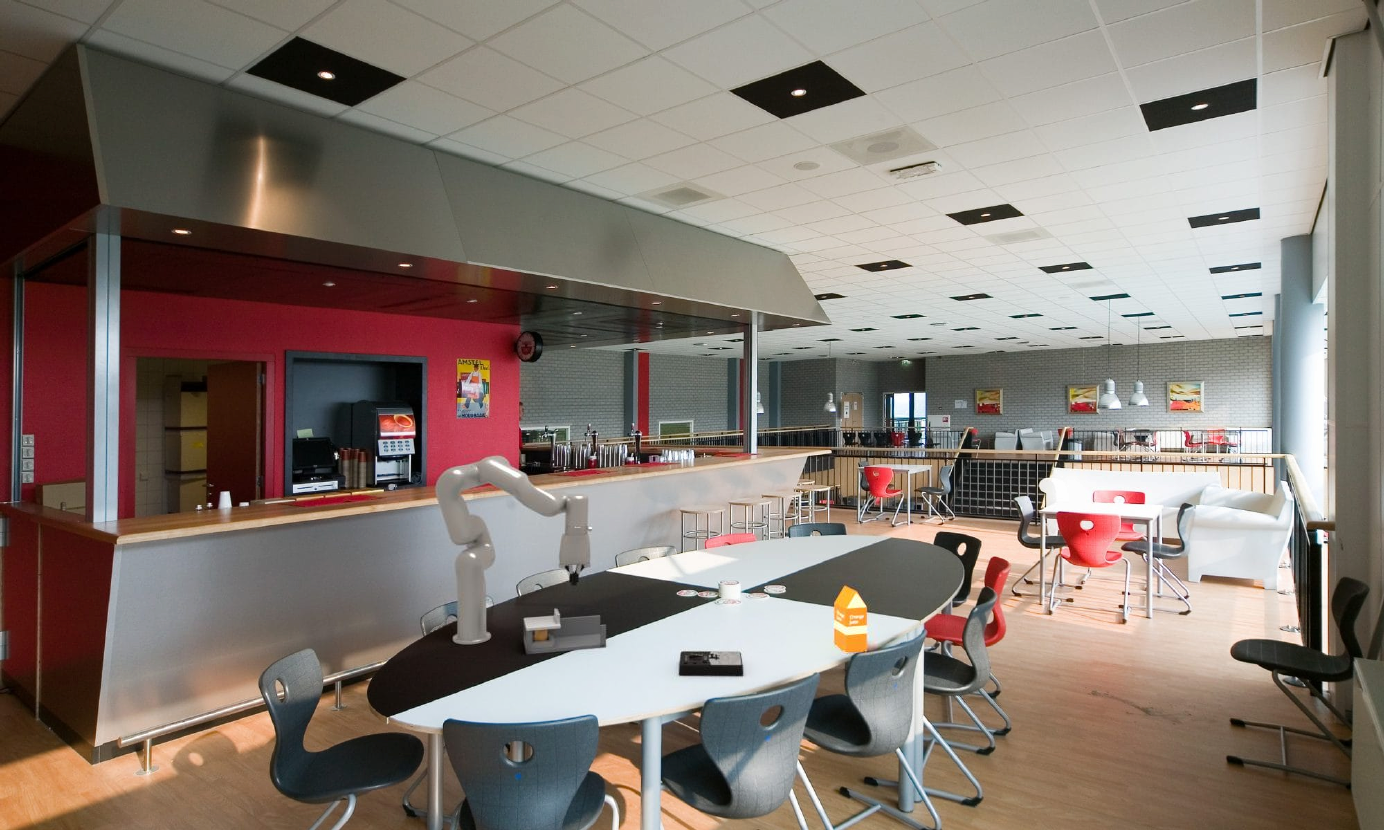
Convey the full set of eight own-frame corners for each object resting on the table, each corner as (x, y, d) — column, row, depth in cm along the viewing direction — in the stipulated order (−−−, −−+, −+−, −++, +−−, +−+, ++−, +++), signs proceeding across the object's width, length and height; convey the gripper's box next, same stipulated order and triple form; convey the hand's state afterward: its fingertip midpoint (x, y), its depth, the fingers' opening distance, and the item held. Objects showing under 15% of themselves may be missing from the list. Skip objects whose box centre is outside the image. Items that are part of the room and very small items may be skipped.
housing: (523, 642, 255) (523, 621, 255) (599, 635, 262) (599, 615, 262) (526, 654, 242) (526, 631, 242) (606, 646, 250) (606, 625, 250)
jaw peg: (535, 641, 252) (536, 626, 252) (547, 642, 252) (548, 627, 252) (533, 645, 248) (534, 630, 248) (545, 645, 248) (546, 630, 248)
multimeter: (680, 662, 236) (680, 646, 236) (741, 662, 236) (741, 646, 236) (678, 677, 223) (678, 660, 223) (743, 677, 223) (743, 660, 223)
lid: (523, 620, 255) (523, 609, 254) (556, 617, 258) (556, 606, 258) (526, 630, 242) (526, 619, 242) (560, 628, 246) (560, 616, 246)
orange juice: (845, 653, 244) (846, 592, 244) (833, 645, 252) (833, 585, 252) (867, 651, 246) (867, 590, 246) (854, 643, 254) (854, 584, 254)
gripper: (596, 528, 259) (594, 581, 259) (552, 528, 254) (550, 582, 255) (599, 532, 252) (597, 586, 252) (554, 532, 247) (552, 588, 248)
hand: (573, 584), depth 253 cm, fingers closed
